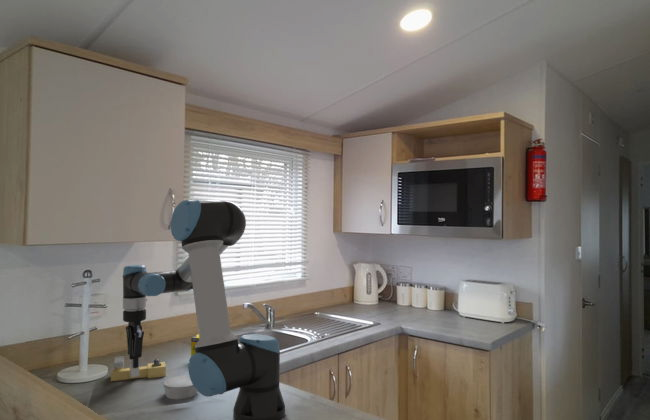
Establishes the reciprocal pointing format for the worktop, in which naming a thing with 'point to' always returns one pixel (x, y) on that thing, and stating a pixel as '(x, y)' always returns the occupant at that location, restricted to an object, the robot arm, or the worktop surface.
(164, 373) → the link
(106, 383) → the worktop surface
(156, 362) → the pintle post
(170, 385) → the ramekin
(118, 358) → the keeper
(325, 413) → the worktop surface
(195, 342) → the supplement box
